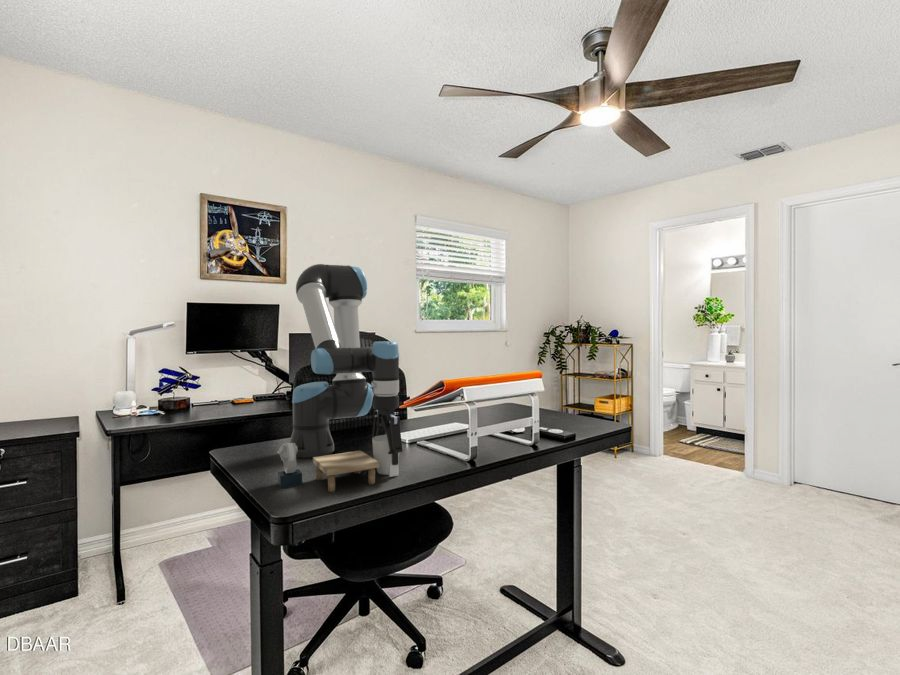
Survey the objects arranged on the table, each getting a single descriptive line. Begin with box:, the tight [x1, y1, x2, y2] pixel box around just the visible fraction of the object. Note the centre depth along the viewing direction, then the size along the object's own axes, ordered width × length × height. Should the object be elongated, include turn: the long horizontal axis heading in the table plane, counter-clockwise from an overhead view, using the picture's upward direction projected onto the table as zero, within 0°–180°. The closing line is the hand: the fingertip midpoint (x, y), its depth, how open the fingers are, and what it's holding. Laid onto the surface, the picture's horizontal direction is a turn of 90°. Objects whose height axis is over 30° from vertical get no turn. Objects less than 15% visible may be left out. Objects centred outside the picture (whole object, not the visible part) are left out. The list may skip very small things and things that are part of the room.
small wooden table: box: [312, 450, 379, 493], centre depth 131 cm, size 14×14×6 cm
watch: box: [277, 442, 303, 489], centre depth 129 cm, size 6×8×11 cm
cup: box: [371, 434, 390, 476], centre depth 139 cm, size 8×8×10 cm
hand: (386, 471), depth 139 cm, fingers open, 9 cm apart
